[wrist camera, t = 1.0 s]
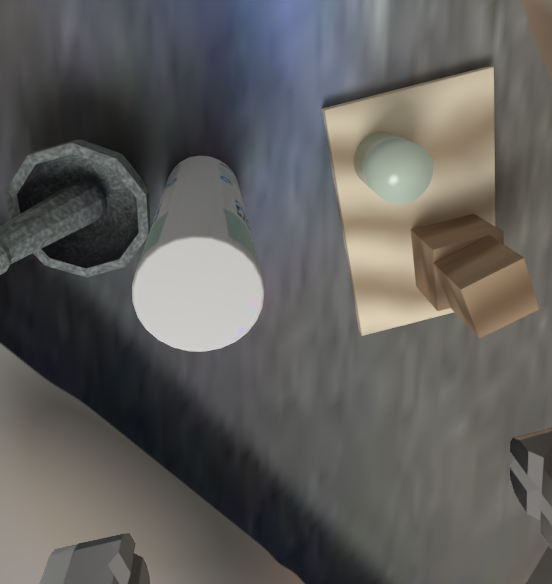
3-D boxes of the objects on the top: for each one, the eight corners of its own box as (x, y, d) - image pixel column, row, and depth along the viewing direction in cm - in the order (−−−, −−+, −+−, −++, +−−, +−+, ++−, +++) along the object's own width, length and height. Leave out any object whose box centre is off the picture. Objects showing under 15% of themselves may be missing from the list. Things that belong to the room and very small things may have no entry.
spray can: (159, 154, 40) (120, 239, 22) (238, 151, 40) (262, 230, 23) (169, 229, 43) (141, 358, 25) (242, 225, 43) (267, 347, 26)
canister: (350, 139, 40) (369, 151, 35) (403, 125, 40) (430, 135, 35) (357, 192, 42) (377, 210, 37) (409, 179, 42) (435, 196, 37)
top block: (433, 263, 40) (460, 289, 36) (489, 234, 40) (524, 257, 35) (451, 308, 42) (479, 338, 38) (504, 282, 42) (539, 309, 37)
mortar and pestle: (135, 116, 38) (104, 141, 28) (175, 225, 42) (162, 283, 32) (-1, 155, 38) (-84, 195, 28) (53, 259, 43) (-1, 329, 32)
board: (321, 108, 40) (324, 110, 38) (486, 66, 40) (493, 67, 39) (358, 329, 50) (362, 335, 49) (490, 295, 50) (496, 301, 49)
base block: (410, 229, 44) (432, 249, 40) (473, 213, 44) (503, 231, 40) (416, 286, 47) (437, 311, 42) (475, 271, 47) (503, 294, 42)
